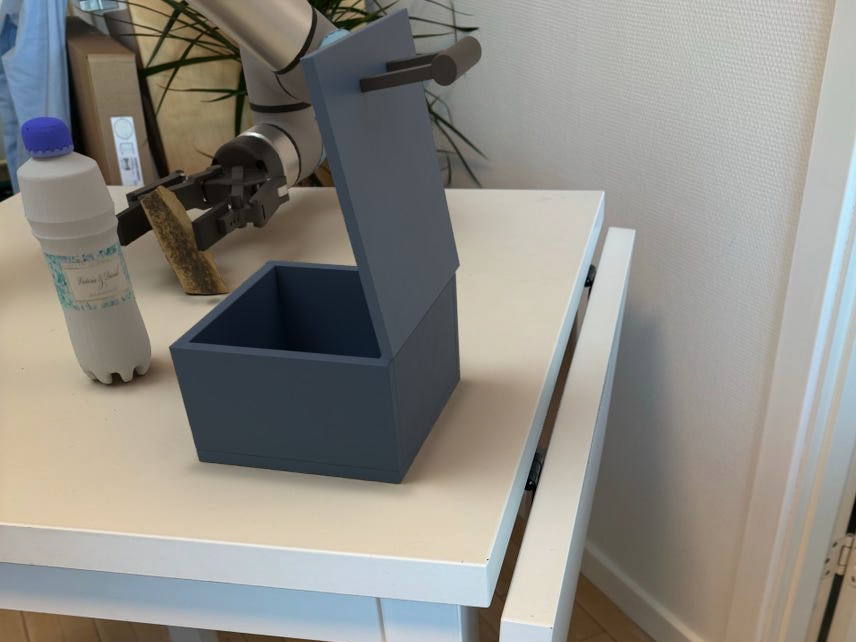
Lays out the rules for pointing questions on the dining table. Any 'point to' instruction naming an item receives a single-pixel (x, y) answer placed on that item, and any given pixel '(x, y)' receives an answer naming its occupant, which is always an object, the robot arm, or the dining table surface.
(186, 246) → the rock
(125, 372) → the bottle
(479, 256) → the dining table surface
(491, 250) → the dining table surface
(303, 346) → the blue-grey open box
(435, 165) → the lid
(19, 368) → the dining table surface
